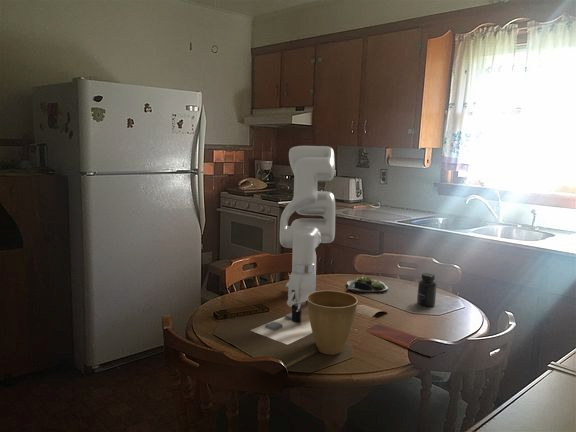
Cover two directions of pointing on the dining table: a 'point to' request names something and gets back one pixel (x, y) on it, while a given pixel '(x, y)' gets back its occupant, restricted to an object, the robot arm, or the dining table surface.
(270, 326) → the graphite mark
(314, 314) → the plant pot
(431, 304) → the supplement bottle
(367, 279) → the salad plate
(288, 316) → the graphite mark
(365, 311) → the clay tablet
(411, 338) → the wooden tablet
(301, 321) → the sanding block
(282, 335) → the white flat rectangle
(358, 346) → the dining table surface
